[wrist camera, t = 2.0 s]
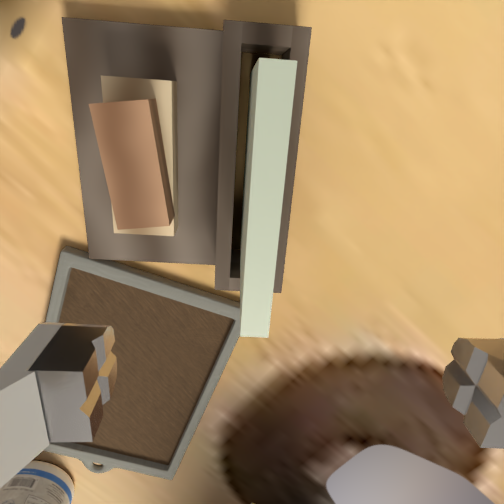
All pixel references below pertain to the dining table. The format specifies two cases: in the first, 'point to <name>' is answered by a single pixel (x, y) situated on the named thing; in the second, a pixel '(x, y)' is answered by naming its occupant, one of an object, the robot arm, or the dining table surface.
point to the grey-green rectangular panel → (264, 188)
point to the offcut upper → (134, 162)
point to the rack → (181, 131)
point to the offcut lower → (167, 110)
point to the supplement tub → (38, 485)
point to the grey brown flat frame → (145, 359)
